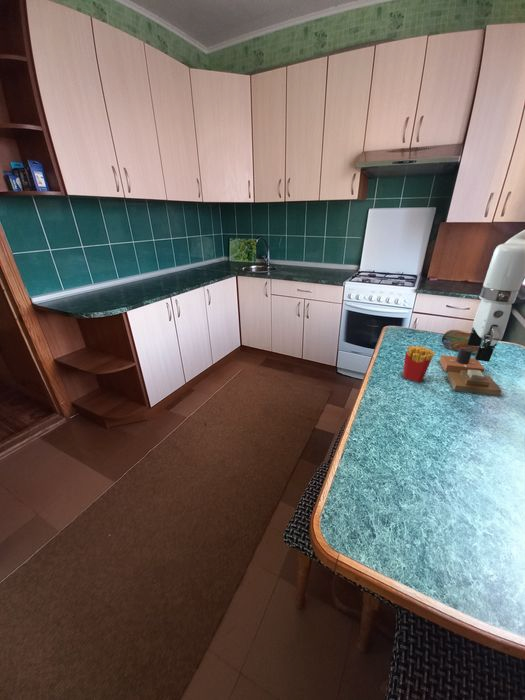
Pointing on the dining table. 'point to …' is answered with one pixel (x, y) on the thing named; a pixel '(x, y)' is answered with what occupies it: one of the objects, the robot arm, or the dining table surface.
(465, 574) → the dining table surface
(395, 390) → the dining table surface
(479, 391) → the stepped nested square plaque
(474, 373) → the key
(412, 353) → the french fries
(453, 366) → the volume box
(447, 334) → the tin
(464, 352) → the volume knob
